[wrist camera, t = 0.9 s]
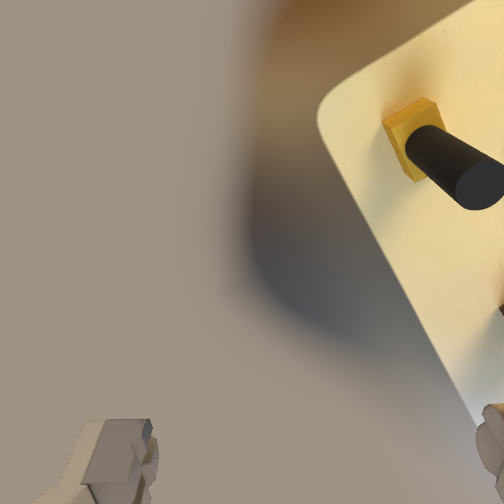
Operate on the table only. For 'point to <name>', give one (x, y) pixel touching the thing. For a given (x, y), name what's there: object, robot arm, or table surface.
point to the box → (502, 309)
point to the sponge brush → (444, 157)
